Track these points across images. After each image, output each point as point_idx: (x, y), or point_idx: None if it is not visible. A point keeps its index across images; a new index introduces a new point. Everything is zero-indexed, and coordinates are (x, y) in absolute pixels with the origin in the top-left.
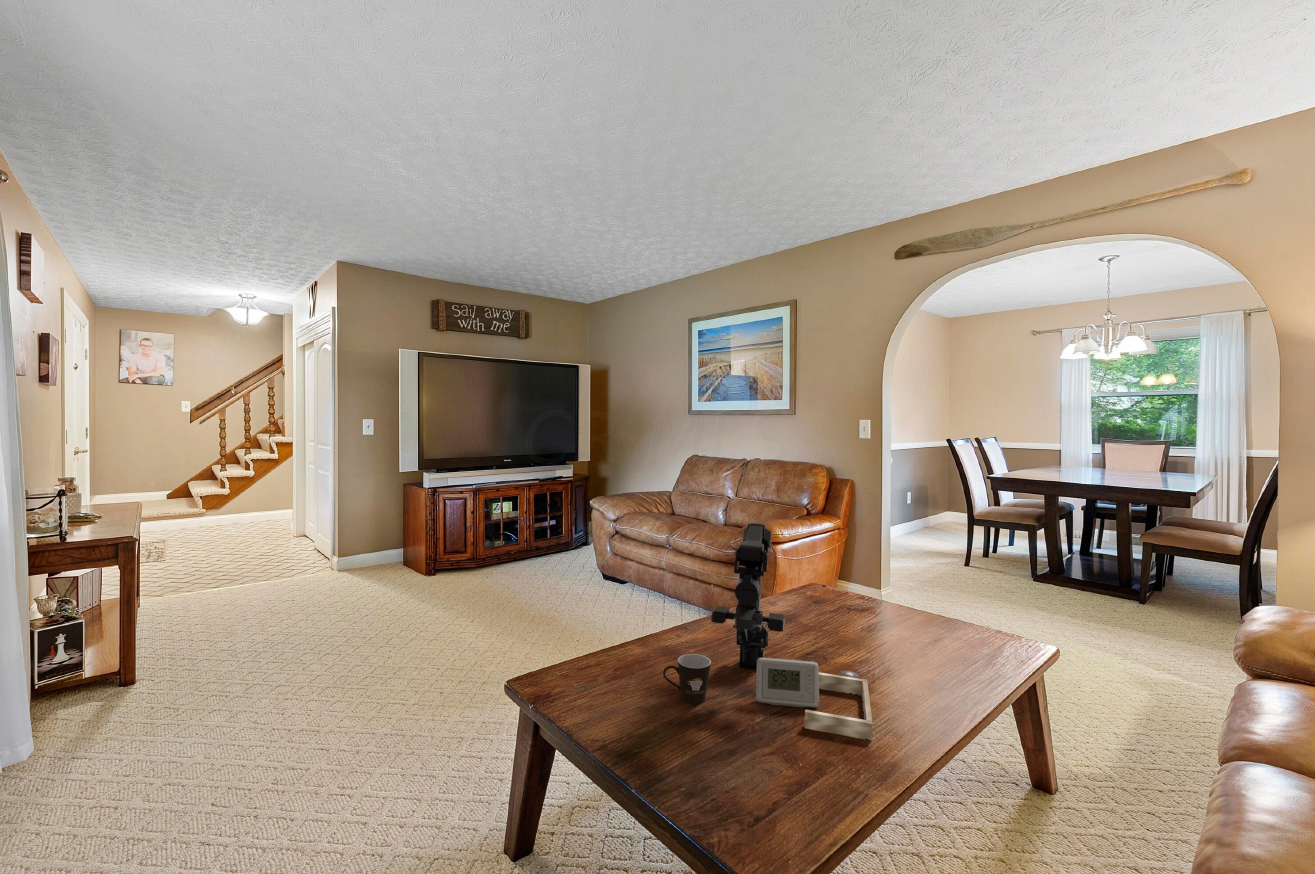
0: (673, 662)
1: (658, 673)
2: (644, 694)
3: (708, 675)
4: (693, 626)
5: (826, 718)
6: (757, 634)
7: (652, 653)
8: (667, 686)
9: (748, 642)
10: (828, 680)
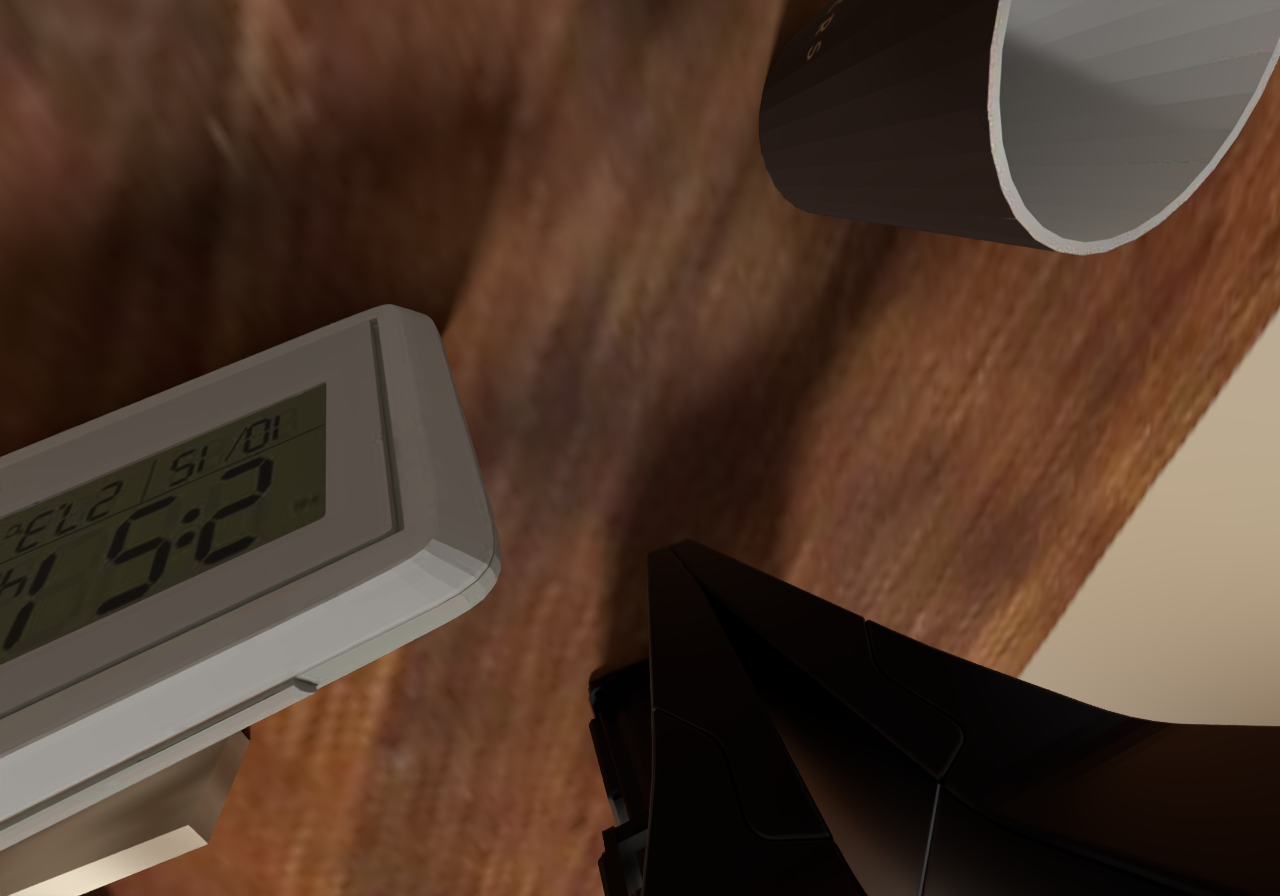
0: (980, 475)
1: (1035, 324)
2: None
3: (882, 74)
4: None
5: None
6: None
7: (1065, 491)
8: None
9: (693, 634)
10: (32, 852)
